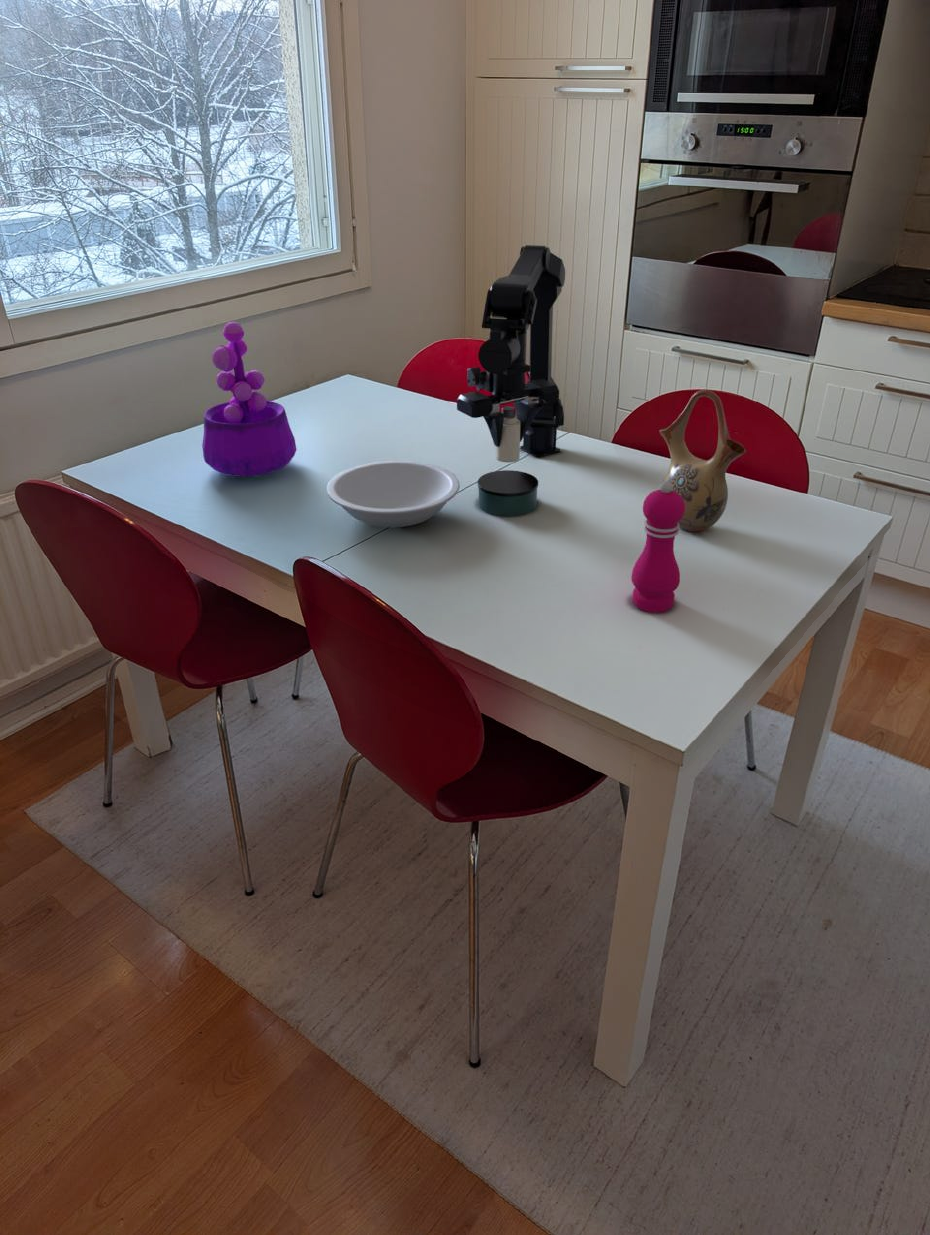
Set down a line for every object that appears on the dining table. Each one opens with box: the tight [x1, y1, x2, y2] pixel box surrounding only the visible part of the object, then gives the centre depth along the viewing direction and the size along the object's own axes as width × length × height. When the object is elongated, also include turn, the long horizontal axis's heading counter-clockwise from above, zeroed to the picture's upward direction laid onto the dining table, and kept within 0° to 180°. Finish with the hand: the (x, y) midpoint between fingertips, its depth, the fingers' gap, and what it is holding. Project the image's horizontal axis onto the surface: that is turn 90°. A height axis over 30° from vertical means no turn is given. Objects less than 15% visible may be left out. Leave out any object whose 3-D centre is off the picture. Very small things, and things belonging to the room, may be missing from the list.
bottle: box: [495, 405, 521, 463], centre depth 162 cm, size 4×4×10 cm
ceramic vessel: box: [658, 389, 747, 533], centre depth 154 cm, size 16×9×25 cm, turn 45°
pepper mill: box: [630, 481, 685, 613], centre depth 132 cm, size 7×7×20 cm
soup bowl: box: [326, 460, 461, 528], centre depth 163 cm, size 24×24×7 cm
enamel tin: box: [477, 469, 539, 517], centre depth 168 cm, size 11×11×5 cm
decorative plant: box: [201, 321, 298, 477], centre depth 178 cm, size 19×18×30 cm
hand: (508, 443), depth 163 cm, fingers closed on bottle, 4 cm apart
